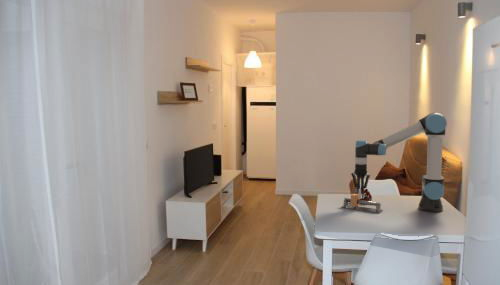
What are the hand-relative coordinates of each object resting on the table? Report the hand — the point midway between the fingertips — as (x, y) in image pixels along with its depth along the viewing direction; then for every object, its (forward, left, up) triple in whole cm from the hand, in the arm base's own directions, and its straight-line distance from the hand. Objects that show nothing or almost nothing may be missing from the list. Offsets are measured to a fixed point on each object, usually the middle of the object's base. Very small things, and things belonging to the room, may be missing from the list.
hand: (360, 198), depth 292 cm
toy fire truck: (+5, -18, -8) cm, 20 cm away
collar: (+4, 0, -5) cm, 6 cm away
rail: (-1, 0, -7) cm, 7 cm away
